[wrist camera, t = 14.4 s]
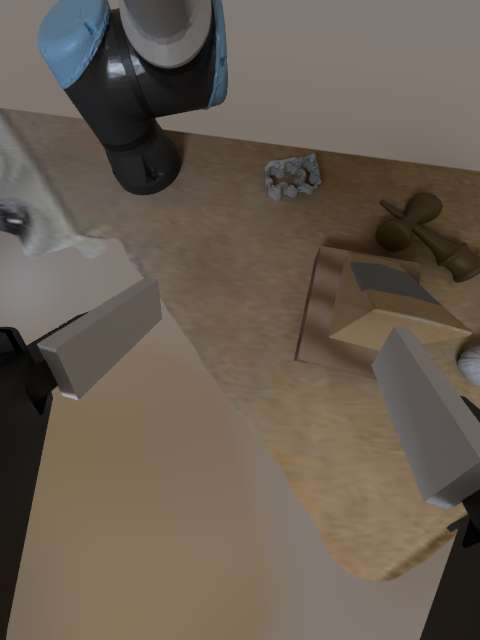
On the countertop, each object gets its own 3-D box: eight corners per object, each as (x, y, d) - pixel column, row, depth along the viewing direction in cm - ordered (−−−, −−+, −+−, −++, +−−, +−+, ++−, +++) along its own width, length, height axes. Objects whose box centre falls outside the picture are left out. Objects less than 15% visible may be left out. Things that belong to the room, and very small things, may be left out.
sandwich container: (399, 262, 37) (489, 189, 22) (384, 352, 34) (477, 335, 19) (345, 251, 38) (397, 175, 24) (326, 337, 35) (373, 310, 21)
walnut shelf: (315, 258, 43) (320, 245, 39) (404, 274, 40) (420, 263, 36) (293, 360, 39) (297, 358, 35) (392, 385, 36) (408, 386, 32)
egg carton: (267, 204, 47) (268, 188, 43) (263, 175, 49) (263, 157, 45) (319, 196, 46) (324, 179, 42) (313, 167, 48) (317, 148, 44)
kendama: (442, 298, 39) (354, 227, 44) (476, 263, 41) (387, 197, 45) (475, 284, 34) (370, 204, 38) (513, 245, 35) (407, 171, 39)
